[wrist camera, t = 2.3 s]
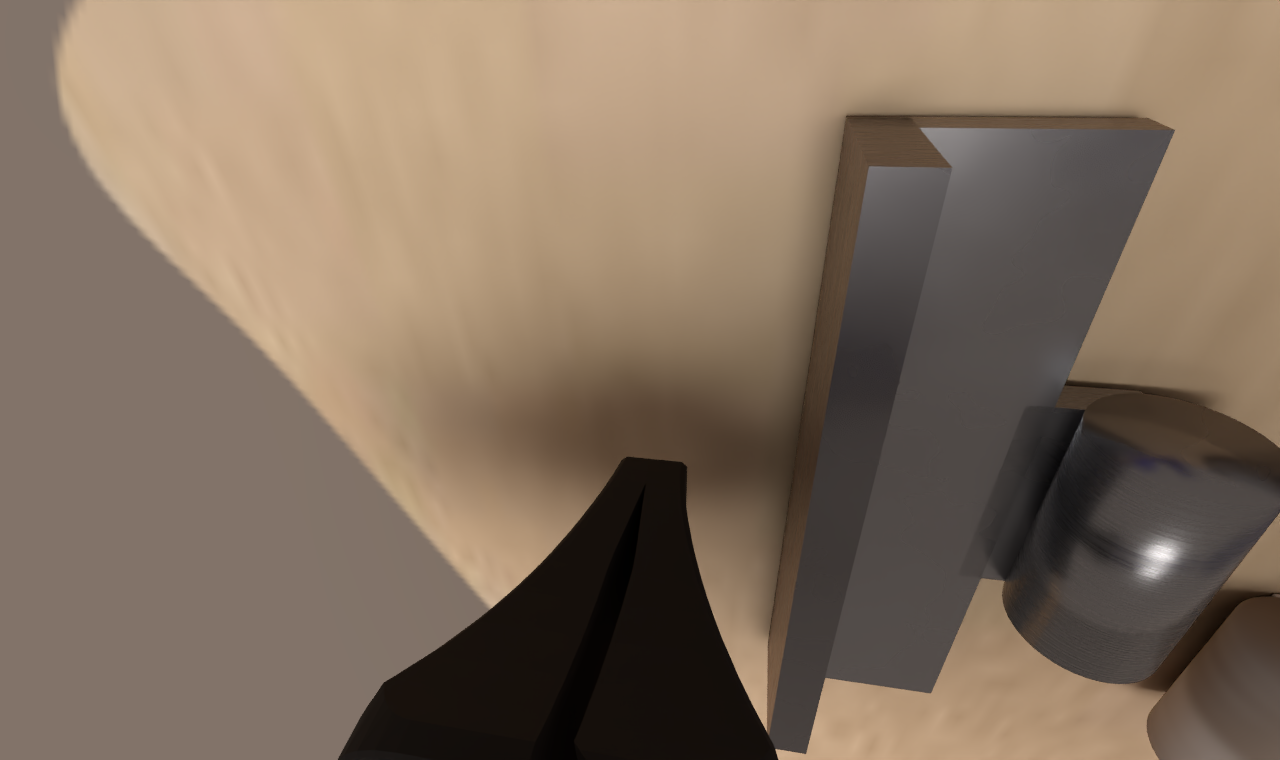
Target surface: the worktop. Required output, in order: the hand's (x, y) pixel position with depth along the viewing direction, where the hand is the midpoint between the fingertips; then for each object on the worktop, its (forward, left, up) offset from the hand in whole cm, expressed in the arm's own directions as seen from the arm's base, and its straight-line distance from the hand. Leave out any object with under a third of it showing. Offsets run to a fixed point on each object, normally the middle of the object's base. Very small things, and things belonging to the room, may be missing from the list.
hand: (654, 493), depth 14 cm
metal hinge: (-7, 0, -2) cm, 7 cm away
